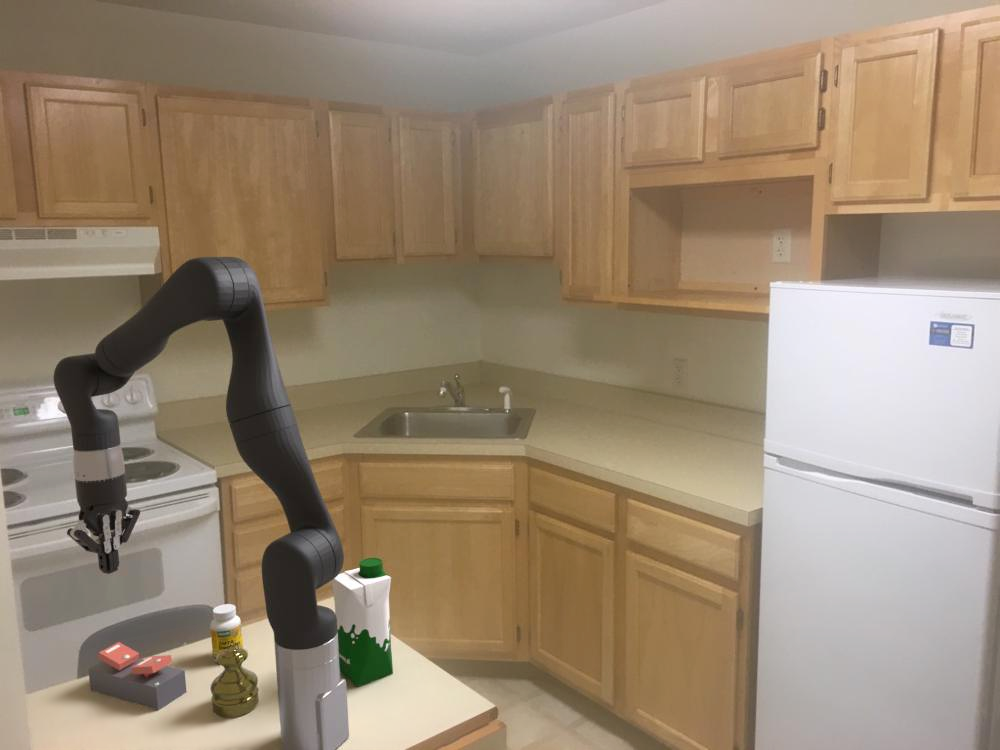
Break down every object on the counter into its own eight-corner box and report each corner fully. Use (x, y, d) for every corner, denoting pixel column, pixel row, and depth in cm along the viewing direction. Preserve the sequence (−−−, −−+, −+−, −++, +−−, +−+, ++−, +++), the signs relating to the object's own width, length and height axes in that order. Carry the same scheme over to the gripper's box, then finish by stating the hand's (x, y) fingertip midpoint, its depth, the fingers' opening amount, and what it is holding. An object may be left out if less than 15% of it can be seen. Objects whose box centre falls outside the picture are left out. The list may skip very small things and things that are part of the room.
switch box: (186, 691, 135) (184, 669, 134) (158, 710, 130) (156, 687, 129) (120, 673, 142) (117, 652, 141) (90, 690, 136) (88, 668, 136)
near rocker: (173, 665, 134) (170, 654, 134) (154, 677, 130) (151, 665, 130) (153, 666, 136) (150, 655, 136) (134, 678, 132) (130, 666, 132)
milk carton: (400, 674, 139) (395, 566, 136) (353, 692, 134) (347, 579, 131) (376, 654, 146) (371, 551, 143) (331, 671, 141) (324, 564, 138)
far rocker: (138, 662, 138) (139, 652, 137) (118, 674, 134) (119, 663, 133) (118, 651, 139) (118, 641, 139) (98, 661, 136) (99, 651, 135)
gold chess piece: (268, 697, 133) (264, 642, 131) (240, 722, 126) (235, 663, 124) (232, 690, 135) (228, 635, 134) (202, 714, 128) (197, 656, 127)
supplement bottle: (239, 647, 150) (235, 599, 149) (247, 658, 146) (243, 609, 144) (209, 655, 147) (205, 607, 146) (217, 667, 143) (213, 617, 141)
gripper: (80, 485, 124) (91, 590, 127) (148, 465, 136) (157, 560, 138) (47, 481, 127) (59, 583, 130) (117, 461, 139) (126, 555, 142)
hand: (110, 571), depth 134 cm, fingers closed
